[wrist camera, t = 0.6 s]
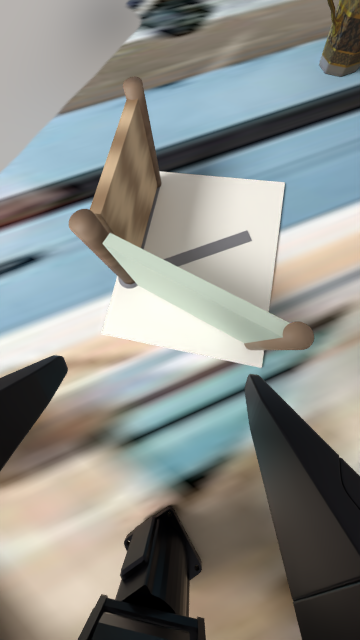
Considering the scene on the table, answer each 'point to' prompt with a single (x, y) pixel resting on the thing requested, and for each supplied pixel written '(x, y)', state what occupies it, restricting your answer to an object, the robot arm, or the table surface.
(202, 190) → the card
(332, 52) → the ceramic cup
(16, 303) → the table surface
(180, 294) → the folding panel
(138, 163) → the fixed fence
